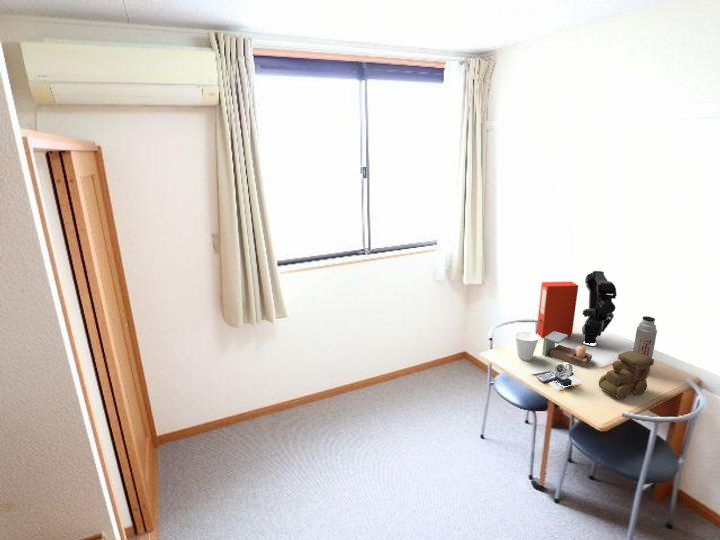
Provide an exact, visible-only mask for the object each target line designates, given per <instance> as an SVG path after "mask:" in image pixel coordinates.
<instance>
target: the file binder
mask: <svg viewBox="0 0 720 540" xmlns="http://www.w3.org/2000/svg"><path fill="white" fill-rule="evenodd" d="M578 292H579V285H578V284H576V283H575V282H573V281H572V280H571V281H541V285H540V296H539V297H540V298H539V303H538V304H539V305H538V306H539V307H538V314H537V323H536V325H537V326H536V333H537V335H538V336H539V337H540V338H541V339H544V337H546V336H547V335H549V334H550V333H552V332H553V331H556V332H559V333H562V334H566V335H568V337H567V338H572V336H573V331H574V330H573V329H574V322H575V314H576V305H577V297H578V294H579V293H578Z"/></svg>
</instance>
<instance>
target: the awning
mask: <svg viewBox="0 0 720 540" xmlns="http://www.w3.org/2000/svg"><path fill="white" fill-rule="evenodd" d="M567 338H569V337H568V335H566V334H562V333H559V332H556V331H553V332H552V333H550V334H549V335H547V336H546V337H544V338H543V345H542V353H541V355H542V356H544V357H546V356H547V355H548V354H550V352H551V350H552V349H553V348H555V347H556V344H557V345H560V343H562V342H563V341H565V339H567Z"/></svg>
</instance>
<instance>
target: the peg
mask: <svg viewBox="0 0 720 540" xmlns="http://www.w3.org/2000/svg"><path fill="white" fill-rule="evenodd" d="M576 350H577V352H576V357H579V358H582V359H585V353H587V351H586V350H587V348H586V347H585V346H583V345H577V346H576Z"/></svg>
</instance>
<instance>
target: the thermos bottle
mask: <svg viewBox="0 0 720 540" xmlns="http://www.w3.org/2000/svg"><path fill="white" fill-rule="evenodd" d="M655 321H656V318H654V317H652V316H647V315H646V316H643V317H642V321H640V322H639V324H638V326H637V327H636V332H635V337H634V343H633V348H632V349H633V350H632V351H637V352H640V353H642V354H644V355H647V356H649V357H650V358H652V359H653V355H654V350H655V345H656V338H657V334H658V330H657V325H656V324H655ZM651 367H652V366H650V369H649V373H648V375H650V373H651Z"/></svg>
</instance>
